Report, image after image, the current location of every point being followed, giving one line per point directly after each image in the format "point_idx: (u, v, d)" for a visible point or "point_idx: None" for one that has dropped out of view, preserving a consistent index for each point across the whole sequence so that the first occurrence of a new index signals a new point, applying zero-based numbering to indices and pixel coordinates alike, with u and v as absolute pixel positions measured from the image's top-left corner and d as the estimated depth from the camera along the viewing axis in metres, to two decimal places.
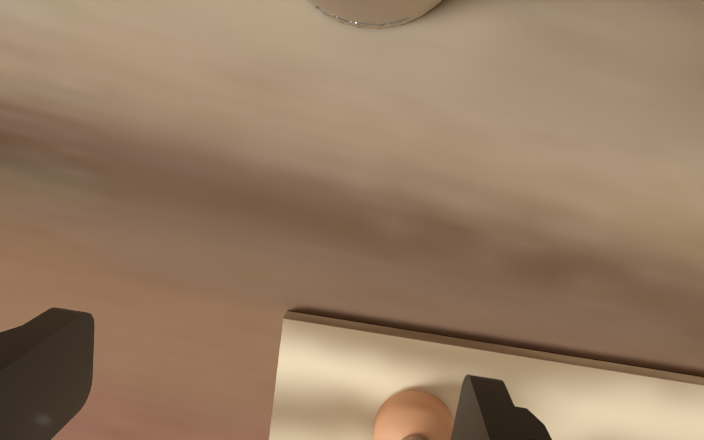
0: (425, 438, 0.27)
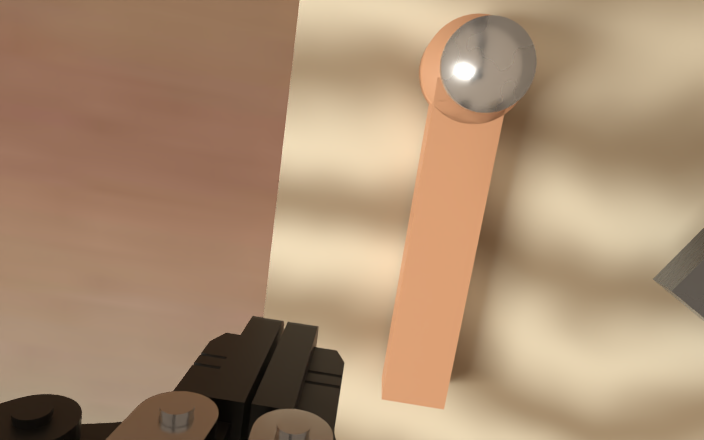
0: None
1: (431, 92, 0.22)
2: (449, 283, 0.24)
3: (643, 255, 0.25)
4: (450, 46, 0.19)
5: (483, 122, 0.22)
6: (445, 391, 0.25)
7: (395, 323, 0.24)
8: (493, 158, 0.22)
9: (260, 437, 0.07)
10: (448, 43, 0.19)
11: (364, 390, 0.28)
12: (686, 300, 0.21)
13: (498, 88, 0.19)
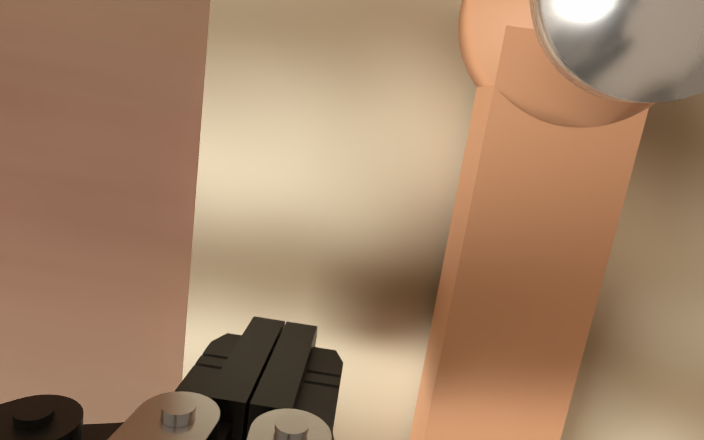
0: None
1: (491, 59, 0.10)
2: None
3: None
4: None
5: (603, 124, 0.10)
6: None
7: None
8: (621, 200, 0.11)
9: (258, 436, 0.07)
10: None
11: None
12: None
13: (689, 38, 0.07)
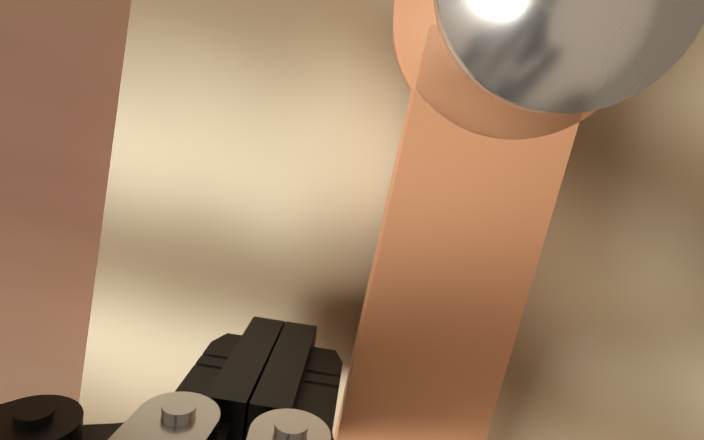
0: None
1: (413, 59, 0.09)
2: None
3: None
4: None
5: (530, 136, 0.10)
6: None
7: None
8: (546, 220, 0.10)
9: (258, 436, 0.07)
10: None
11: None
12: None
13: (596, 45, 0.07)
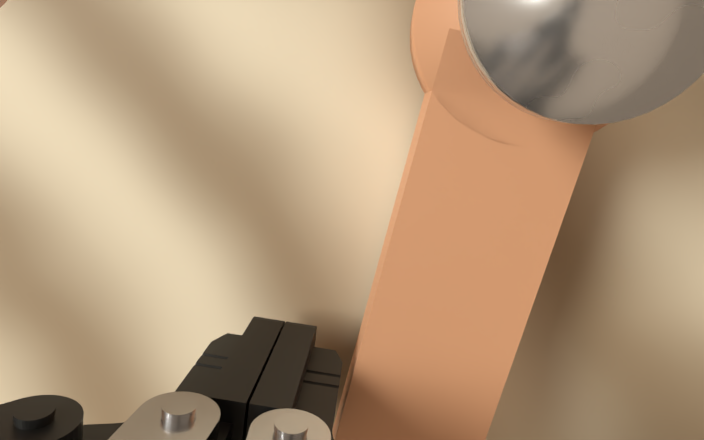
0: None
1: (431, 62, 0.09)
2: None
3: None
4: None
5: (543, 145, 0.10)
6: None
7: None
8: (556, 228, 0.10)
9: (258, 437, 0.07)
10: None
11: None
12: None
13: (575, 59, 0.07)
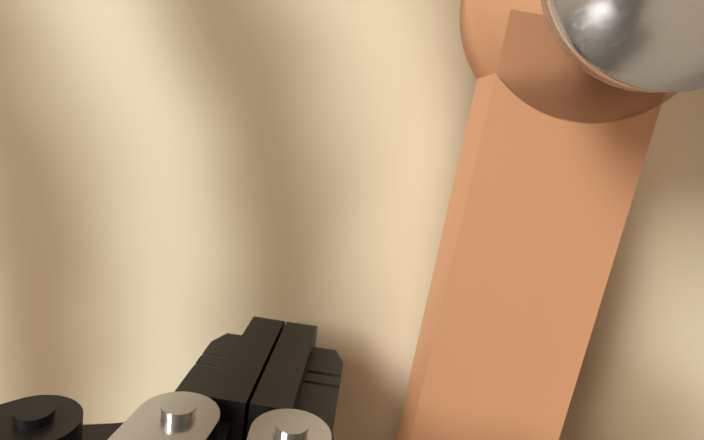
0: None
1: (494, 45, 0.09)
2: None
3: None
4: None
5: (611, 120, 0.09)
6: None
7: None
8: (627, 203, 0.10)
9: (258, 436, 0.07)
10: None
11: None
12: None
13: (641, 14, 0.07)
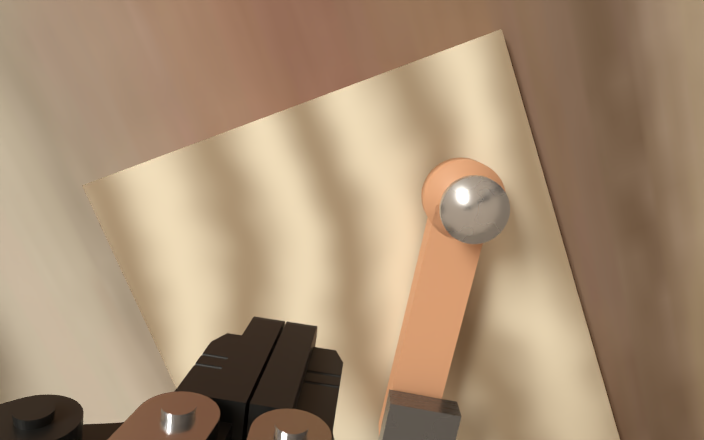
0: None
1: (431, 215, 0.29)
2: (437, 356, 0.30)
3: None
4: (475, 179, 0.26)
5: None
6: None
7: (393, 385, 0.31)
8: (475, 266, 0.29)
9: (258, 436, 0.07)
10: (476, 177, 0.26)
11: (187, 249, 0.32)
12: (389, 415, 0.29)
13: (463, 225, 0.26)
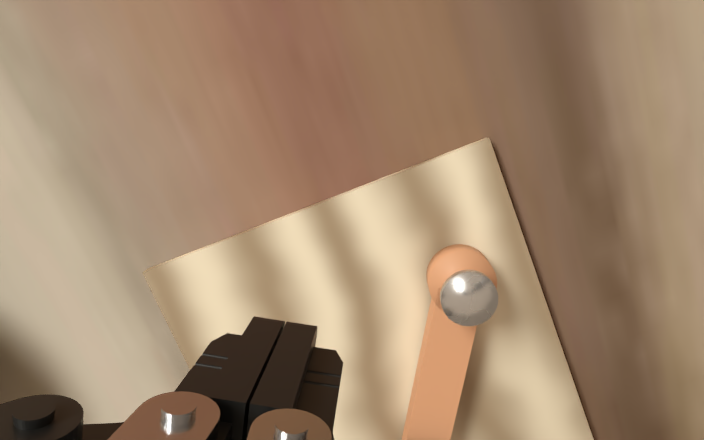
0: None
1: (434, 296, 0.34)
2: (443, 412, 0.36)
3: None
4: (468, 275, 0.31)
5: None
6: None
7: (407, 435, 0.37)
8: (473, 337, 0.35)
9: (258, 436, 0.07)
10: (469, 273, 0.31)
11: (230, 322, 0.38)
12: None
13: (460, 311, 0.32)
